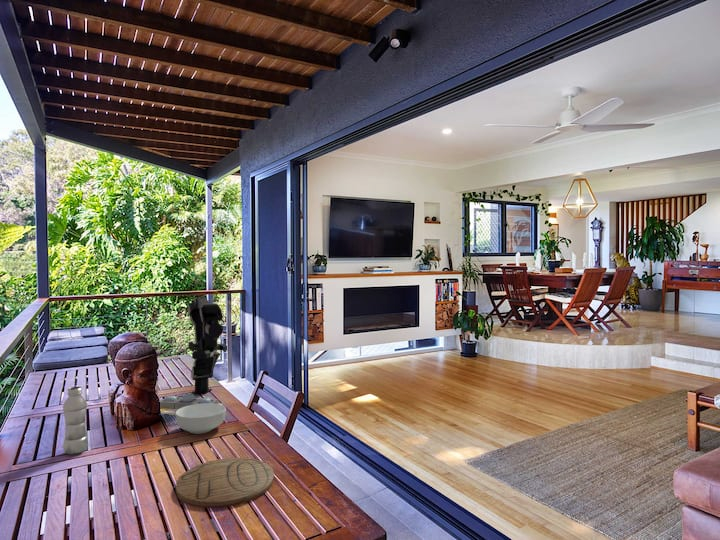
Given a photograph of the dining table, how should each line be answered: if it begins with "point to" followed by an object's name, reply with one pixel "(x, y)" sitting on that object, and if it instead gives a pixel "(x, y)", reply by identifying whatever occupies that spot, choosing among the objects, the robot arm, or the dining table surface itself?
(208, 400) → the button
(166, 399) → the button
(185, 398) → the button
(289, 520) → the dining table surface
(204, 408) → the cereal bowl
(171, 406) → the board
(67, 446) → the plastic bottle
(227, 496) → the trivet
